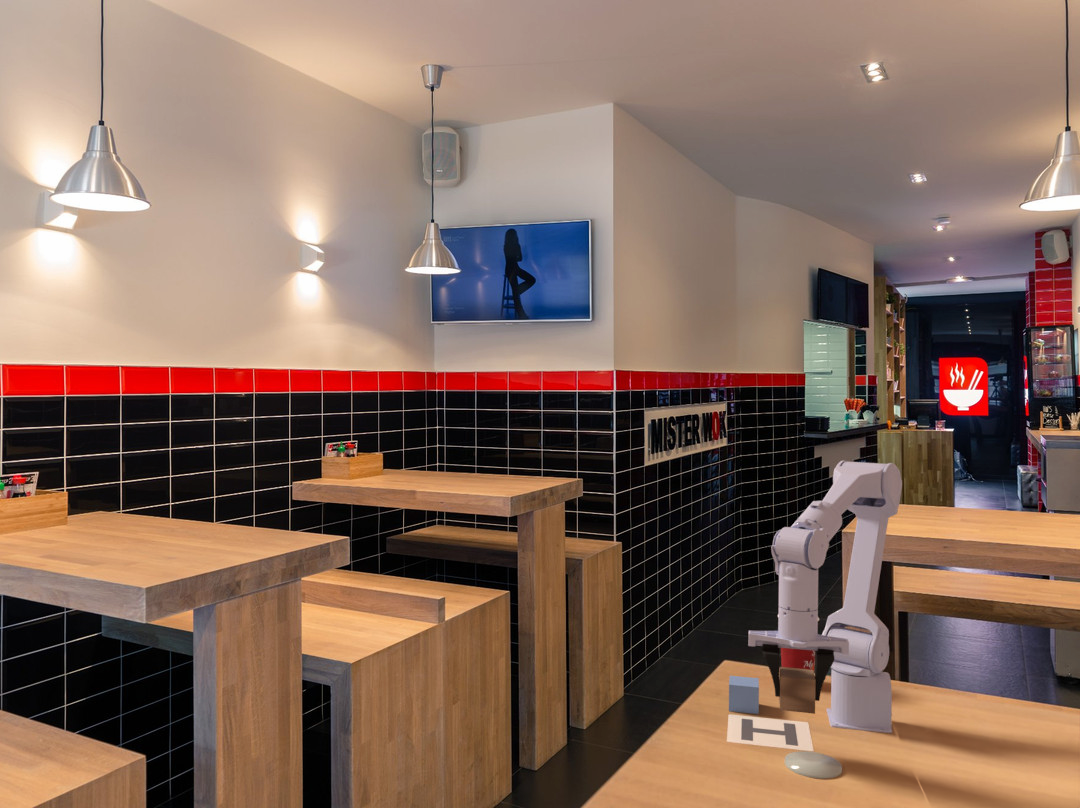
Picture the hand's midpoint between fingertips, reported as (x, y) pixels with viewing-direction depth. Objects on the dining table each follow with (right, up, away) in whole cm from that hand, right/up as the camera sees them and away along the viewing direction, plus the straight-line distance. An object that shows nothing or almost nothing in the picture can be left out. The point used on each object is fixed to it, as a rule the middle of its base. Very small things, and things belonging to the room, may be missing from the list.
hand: (796, 696), depth 124 cm
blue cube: (-3, -9, +19) cm, 21 cm away
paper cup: (+11, -10, +33) cm, 36 cm away
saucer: (+1, -9, -4) cm, 10 cm away
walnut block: (0, -2, 0) cm, 2 cm away
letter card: (-2, -9, +8) cm, 12 cm away
